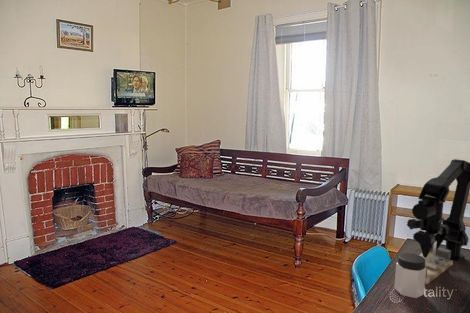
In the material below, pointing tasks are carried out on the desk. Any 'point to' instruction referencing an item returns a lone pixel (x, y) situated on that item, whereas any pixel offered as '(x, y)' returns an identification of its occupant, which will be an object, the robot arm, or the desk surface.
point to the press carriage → (433, 258)
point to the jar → (410, 275)
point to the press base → (434, 273)
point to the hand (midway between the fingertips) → (429, 254)
